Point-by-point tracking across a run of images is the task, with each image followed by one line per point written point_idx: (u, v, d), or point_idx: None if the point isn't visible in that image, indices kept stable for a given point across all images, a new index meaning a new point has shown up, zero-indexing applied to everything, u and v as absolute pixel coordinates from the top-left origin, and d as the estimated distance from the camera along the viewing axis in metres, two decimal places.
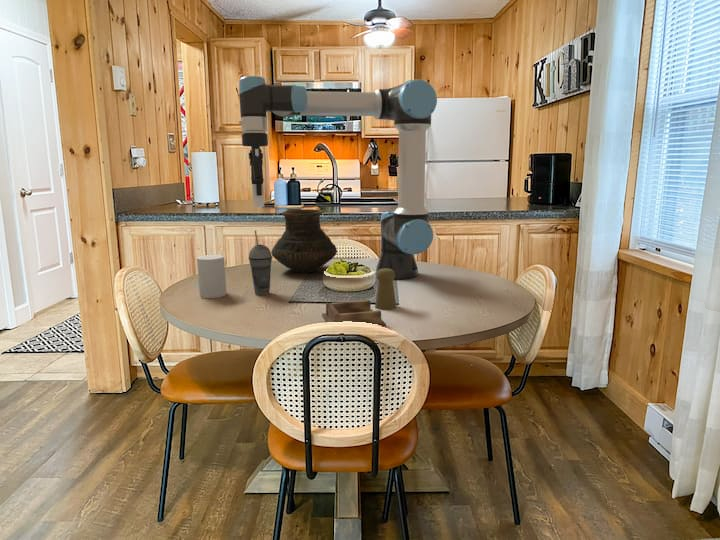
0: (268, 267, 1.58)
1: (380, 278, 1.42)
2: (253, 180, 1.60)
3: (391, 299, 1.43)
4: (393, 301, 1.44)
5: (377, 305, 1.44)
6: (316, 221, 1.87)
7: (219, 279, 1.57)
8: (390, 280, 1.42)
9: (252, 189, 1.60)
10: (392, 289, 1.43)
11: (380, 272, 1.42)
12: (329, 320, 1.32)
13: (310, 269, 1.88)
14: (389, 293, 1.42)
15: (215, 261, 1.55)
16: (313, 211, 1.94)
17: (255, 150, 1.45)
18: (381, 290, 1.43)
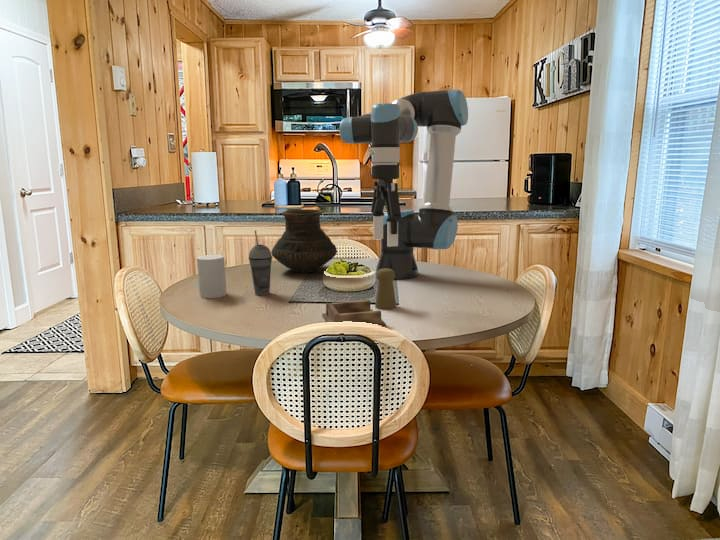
0: (268, 267, 1.58)
1: (380, 278, 1.42)
2: (375, 214, 1.47)
3: (391, 299, 1.43)
4: (393, 301, 1.44)
5: (377, 305, 1.44)
6: (316, 221, 1.87)
7: (219, 279, 1.57)
8: (390, 280, 1.42)
9: (374, 224, 1.46)
10: (392, 289, 1.43)
11: (380, 272, 1.42)
12: (329, 320, 1.32)
13: (310, 269, 1.88)
14: (389, 293, 1.42)
15: (215, 261, 1.55)
16: (313, 211, 1.94)
17: (391, 185, 1.32)
18: (381, 290, 1.43)
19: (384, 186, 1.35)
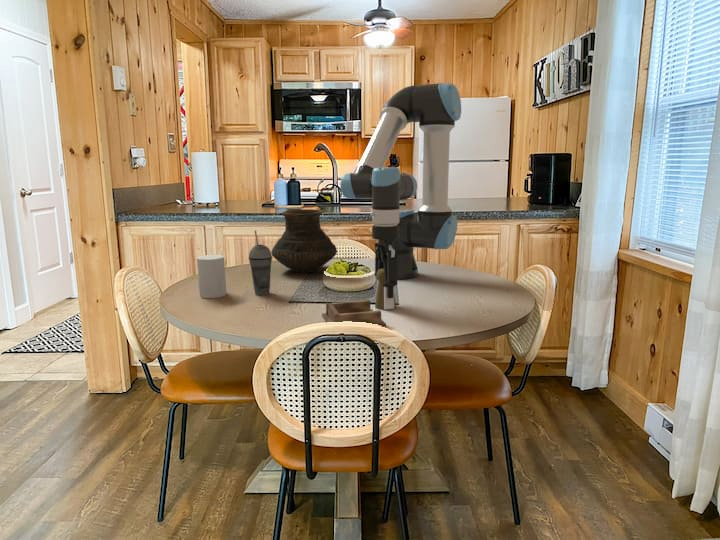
0: (268, 267, 1.58)
1: (380, 278, 1.42)
2: None
3: None
4: None
5: (377, 305, 1.44)
6: (316, 221, 1.87)
7: (219, 279, 1.57)
8: None
9: None
10: None
11: (380, 272, 1.42)
12: (329, 320, 1.32)
13: (310, 269, 1.88)
14: None
15: (215, 261, 1.55)
16: (313, 211, 1.94)
17: (391, 252, 1.36)
18: (381, 290, 1.43)
19: (384, 246, 1.39)
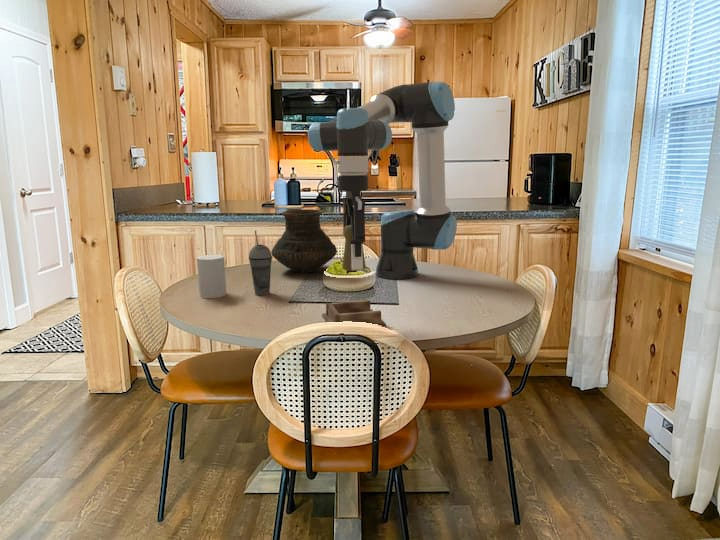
0: (268, 267, 1.58)
1: (346, 235, 1.27)
2: None
3: None
4: None
5: (344, 266, 1.29)
6: (316, 221, 1.87)
7: (219, 279, 1.57)
8: None
9: None
10: None
11: (347, 228, 1.27)
12: (329, 320, 1.32)
13: (310, 269, 1.88)
14: None
15: (215, 261, 1.55)
16: (313, 211, 1.94)
17: (358, 204, 1.20)
18: (348, 249, 1.27)
19: (351, 198, 1.24)
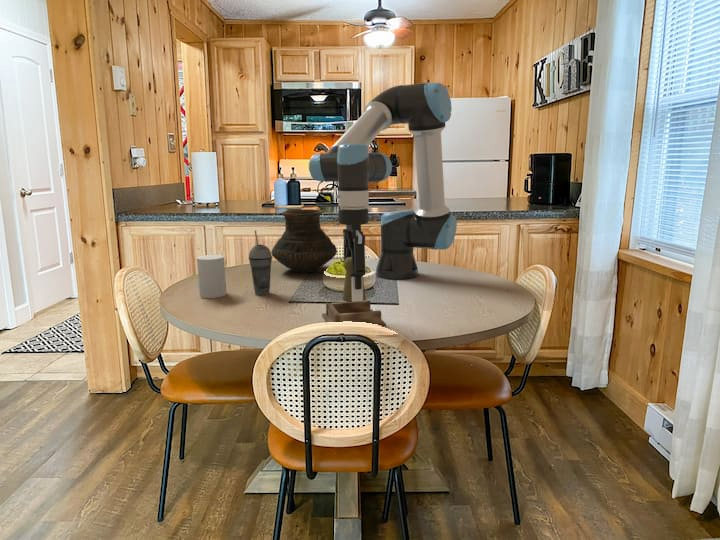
0: (268, 267, 1.58)
1: (347, 267, 1.28)
2: None
3: None
4: None
5: (344, 297, 1.30)
6: (316, 221, 1.87)
7: (219, 279, 1.57)
8: None
9: None
10: None
11: (347, 260, 1.28)
12: (329, 320, 1.32)
13: (310, 269, 1.88)
14: None
15: (215, 261, 1.55)
16: (313, 211, 1.94)
17: (358, 238, 1.22)
18: (349, 281, 1.29)
19: (351, 232, 1.25)
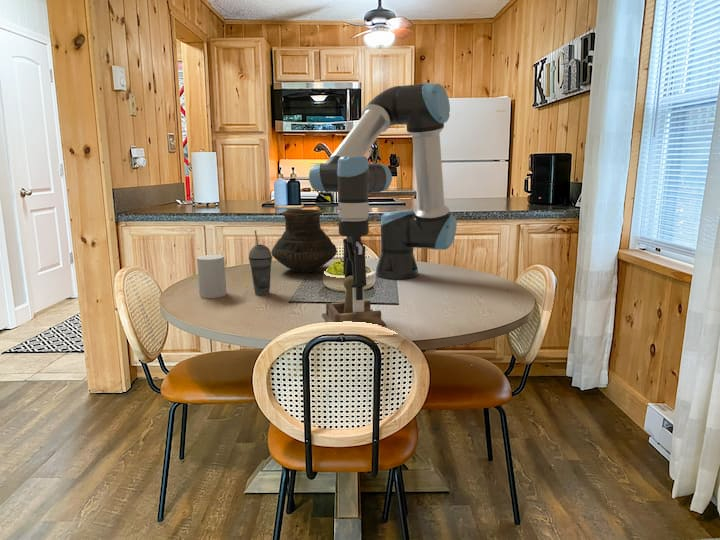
0: (268, 267, 1.58)
1: (347, 287, 1.29)
2: None
3: None
4: None
5: None
6: (316, 221, 1.87)
7: (219, 279, 1.57)
8: None
9: None
10: None
11: (347, 280, 1.29)
12: (329, 320, 1.32)
13: (310, 269, 1.88)
14: None
15: (215, 261, 1.55)
16: (313, 211, 1.94)
17: (359, 249, 1.23)
18: (349, 300, 1.30)
19: (352, 243, 1.26)
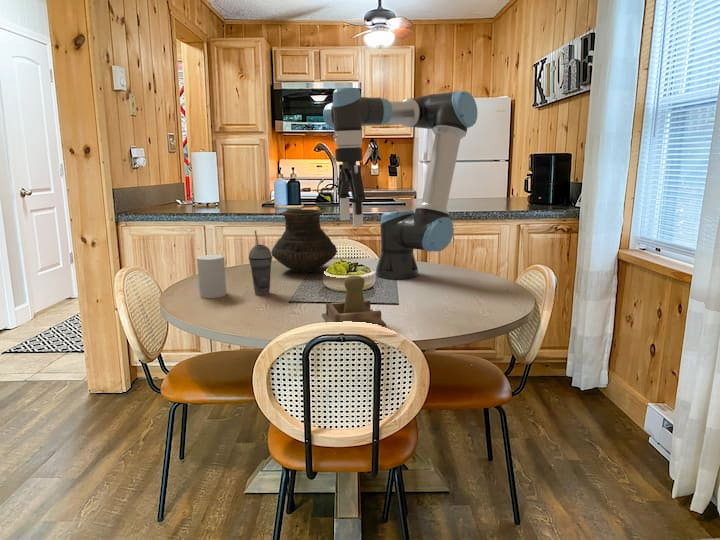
0: (268, 267, 1.58)
1: (347, 287, 1.30)
2: (341, 196, 1.52)
3: (361, 310, 1.31)
4: (362, 311, 1.31)
5: None
6: (316, 221, 1.87)
7: (219, 279, 1.57)
8: (359, 289, 1.30)
9: (341, 205, 1.51)
10: (361, 298, 1.31)
11: (348, 280, 1.29)
12: (329, 320, 1.32)
13: (310, 269, 1.88)
14: (358, 303, 1.30)
15: (215, 261, 1.55)
16: (313, 211, 1.94)
17: (354, 167, 1.37)
18: (349, 300, 1.30)
19: (348, 168, 1.40)
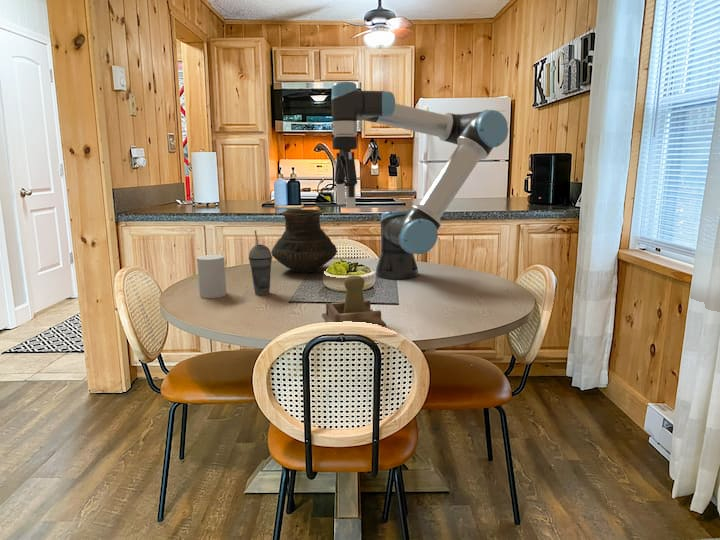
0: (268, 267, 1.58)
1: (347, 287, 1.30)
2: (338, 182, 1.65)
3: (361, 310, 1.31)
4: (362, 311, 1.31)
5: None
6: (316, 221, 1.87)
7: (219, 279, 1.57)
8: (359, 289, 1.30)
9: (337, 191, 1.65)
10: (361, 298, 1.31)
11: (348, 280, 1.29)
12: (329, 320, 1.32)
13: (310, 269, 1.88)
14: (358, 303, 1.30)
15: (215, 261, 1.55)
16: (313, 211, 1.94)
17: (348, 153, 1.50)
18: (349, 300, 1.30)
19: (343, 155, 1.54)
